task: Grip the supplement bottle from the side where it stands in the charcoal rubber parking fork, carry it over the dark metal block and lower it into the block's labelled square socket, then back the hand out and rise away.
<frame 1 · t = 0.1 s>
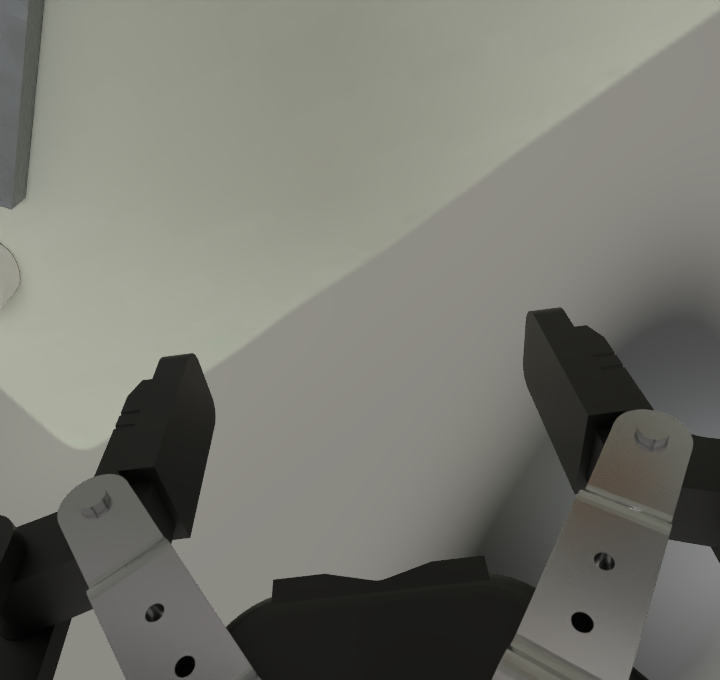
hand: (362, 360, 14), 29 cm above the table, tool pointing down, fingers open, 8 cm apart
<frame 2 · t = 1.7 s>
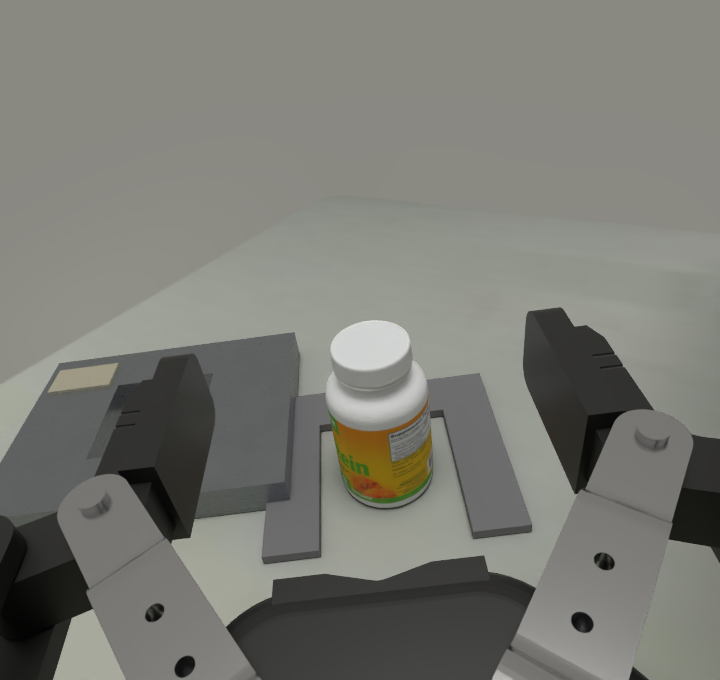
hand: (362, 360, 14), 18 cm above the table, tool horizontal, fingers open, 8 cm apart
supplement bottle: (388, 474, 33), on the table
parking fork: (387, 472, 33), on the table
socket block: (165, 436, 38), on the table
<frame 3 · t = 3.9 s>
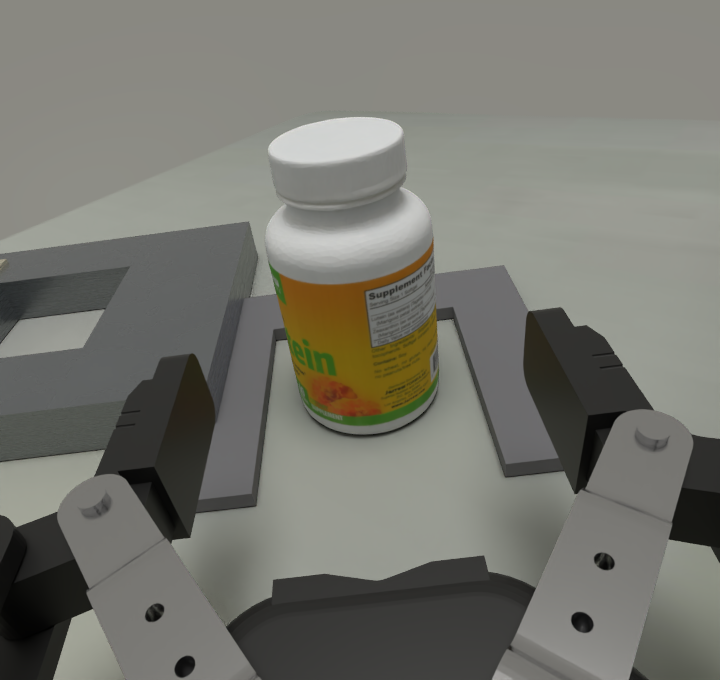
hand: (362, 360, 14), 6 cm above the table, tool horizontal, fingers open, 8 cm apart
supplement bottle: (370, 392, 22), on the table
parking fork: (369, 387, 22), on the table
socket block: (56, 350, 27), on the table
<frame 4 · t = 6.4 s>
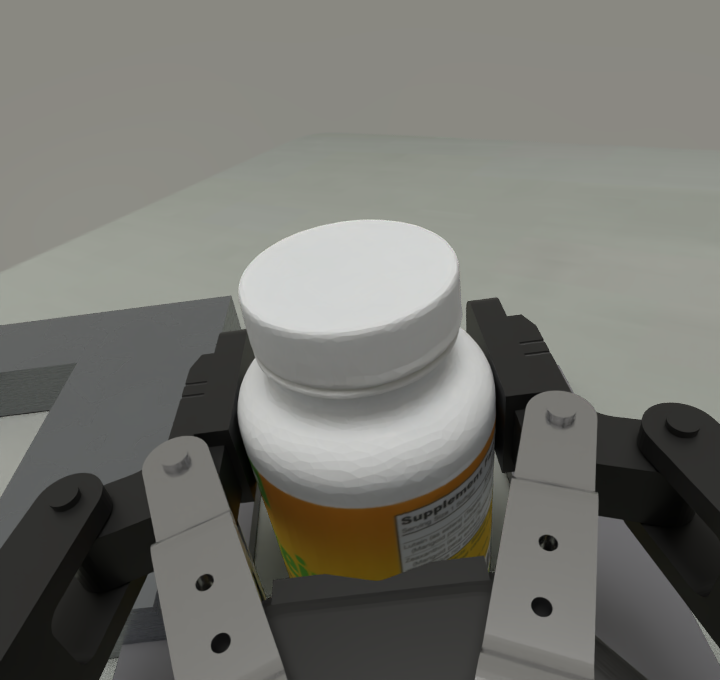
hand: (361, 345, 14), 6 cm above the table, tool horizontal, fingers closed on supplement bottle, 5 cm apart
supplement bottle: (391, 572, 16), on the table, touching gripper
parking fork: (391, 568, 16), on the table
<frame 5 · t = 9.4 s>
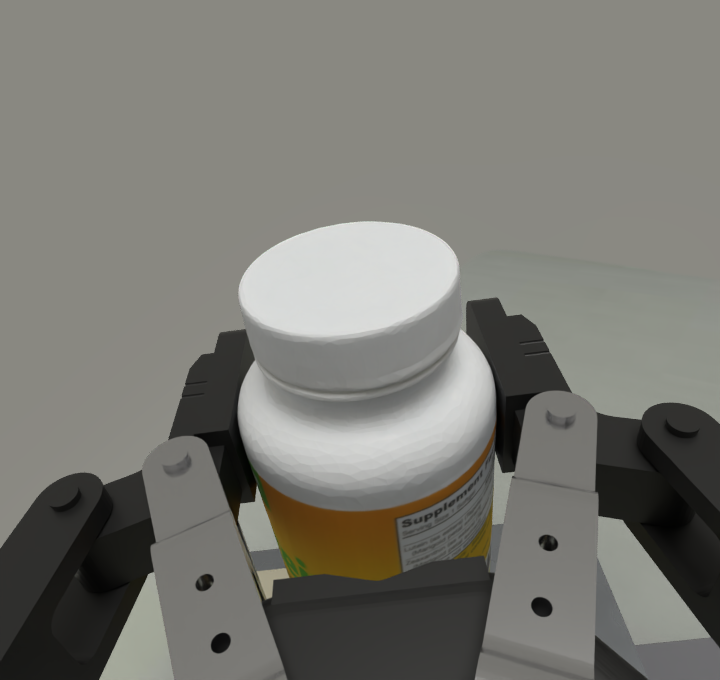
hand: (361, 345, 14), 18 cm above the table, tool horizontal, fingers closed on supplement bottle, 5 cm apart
supplement bottle: (391, 574, 16), point 11 cm above the table, touching gripper
when the fingers open (7 cm above the table, at t = 12.8 s): supplement bottle drops 1 cm, on the table.
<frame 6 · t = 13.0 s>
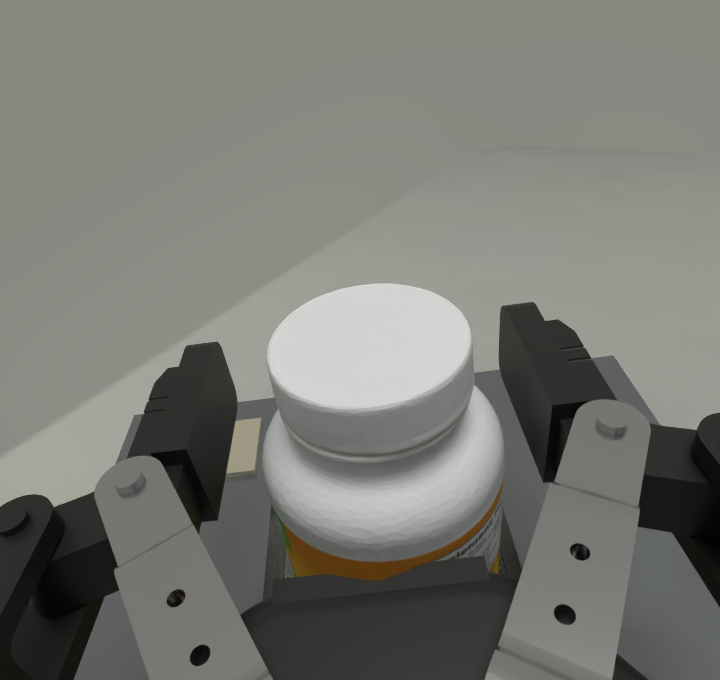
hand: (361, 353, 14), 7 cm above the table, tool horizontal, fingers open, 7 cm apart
supplement bottle: (402, 604, 17), on the table
socket block: (394, 596, 17), on the table
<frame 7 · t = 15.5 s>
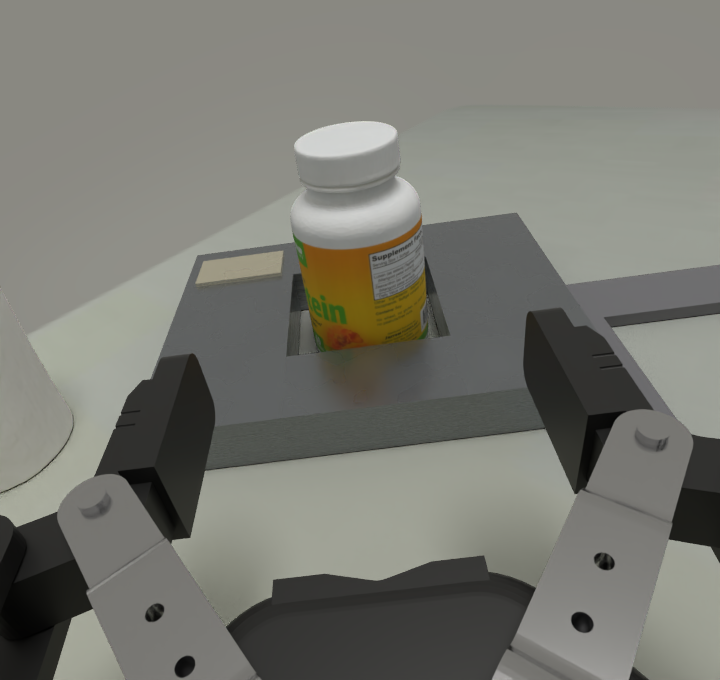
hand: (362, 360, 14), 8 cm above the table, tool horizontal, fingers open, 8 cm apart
supplement bottle: (373, 344, 27), on the table
white plastic bottle: (8, 454, 24), on the table
socket block: (368, 339, 27), on the table
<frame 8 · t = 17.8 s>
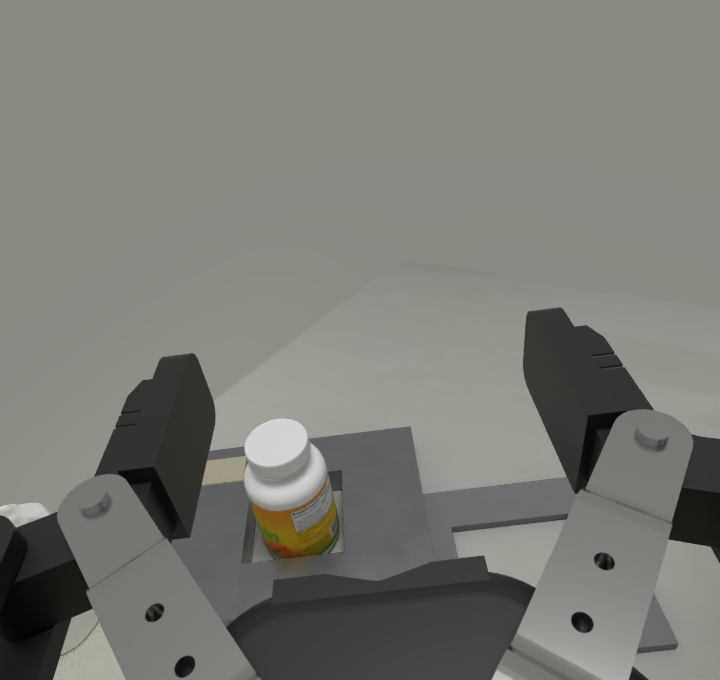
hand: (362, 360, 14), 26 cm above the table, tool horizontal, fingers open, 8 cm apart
supplement bottle: (303, 535, 40), on the table
parking fork: (525, 579, 36), on the table
white plastic bottle: (63, 621, 37), on the table
socket block: (300, 532, 40), on the table
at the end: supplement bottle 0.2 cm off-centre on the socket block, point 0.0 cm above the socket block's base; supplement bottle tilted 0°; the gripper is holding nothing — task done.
